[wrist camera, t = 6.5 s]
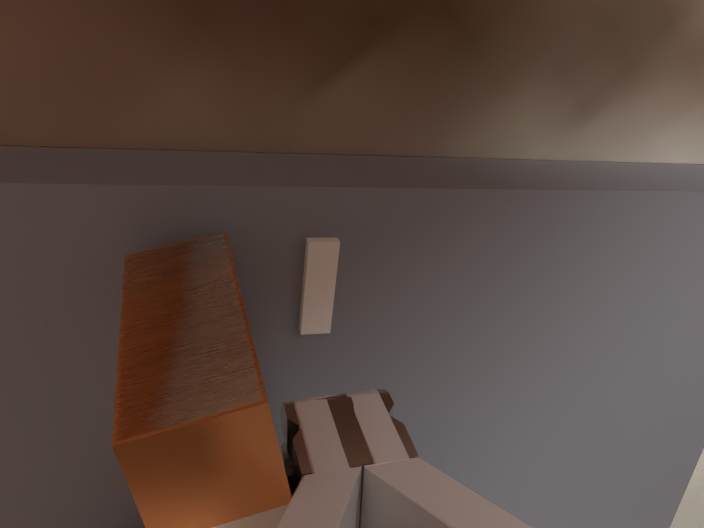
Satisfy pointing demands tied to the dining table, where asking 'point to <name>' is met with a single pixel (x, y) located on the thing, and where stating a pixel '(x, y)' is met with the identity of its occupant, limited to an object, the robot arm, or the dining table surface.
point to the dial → (193, 394)
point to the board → (375, 315)
